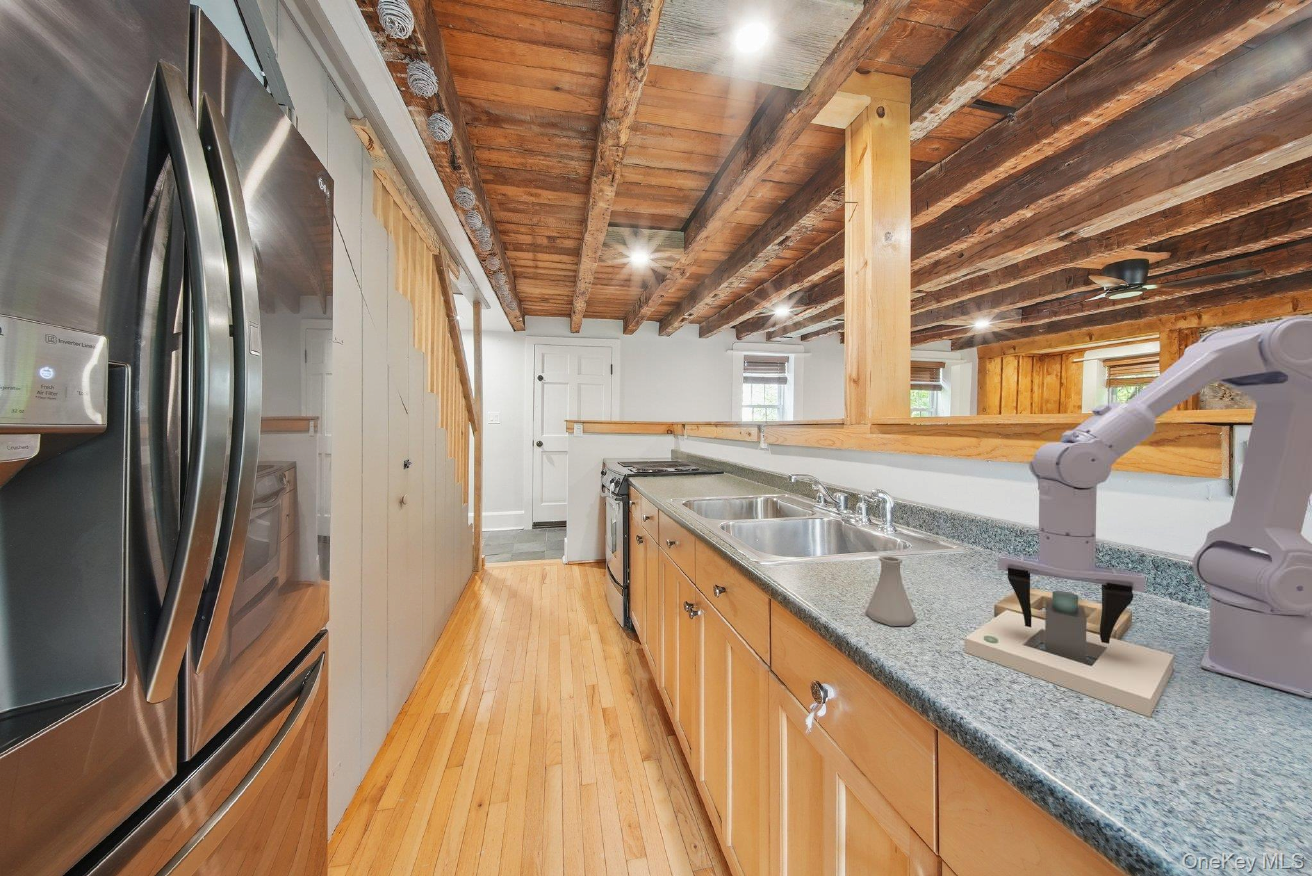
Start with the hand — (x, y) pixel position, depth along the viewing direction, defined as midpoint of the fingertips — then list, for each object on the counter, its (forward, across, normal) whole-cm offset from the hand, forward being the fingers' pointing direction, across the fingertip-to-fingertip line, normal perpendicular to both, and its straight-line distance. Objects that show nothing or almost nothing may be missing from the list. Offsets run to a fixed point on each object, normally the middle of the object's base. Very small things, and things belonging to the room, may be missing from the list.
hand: (1064, 631), depth 62 cm
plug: (+4, 0, 0) cm, 4 cm away
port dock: (+4, 0, 0) cm, 4 cm away
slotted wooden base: (+4, 0, -16) cm, 17 cm away
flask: (+4, +22, -1) cm, 22 cm away
